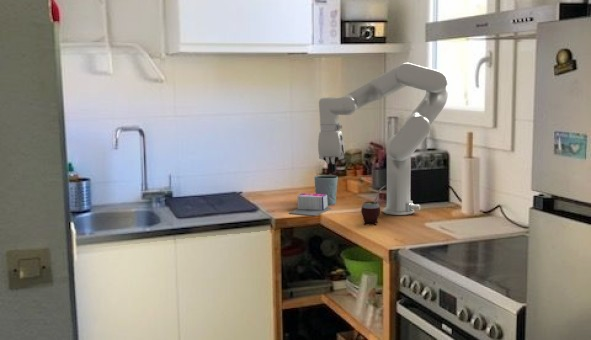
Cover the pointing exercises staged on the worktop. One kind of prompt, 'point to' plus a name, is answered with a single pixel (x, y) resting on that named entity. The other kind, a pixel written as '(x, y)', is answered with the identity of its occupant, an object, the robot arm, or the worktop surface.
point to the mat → (308, 212)
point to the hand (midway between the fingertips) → (332, 173)
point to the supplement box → (312, 201)
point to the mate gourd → (371, 211)
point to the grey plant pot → (327, 187)
